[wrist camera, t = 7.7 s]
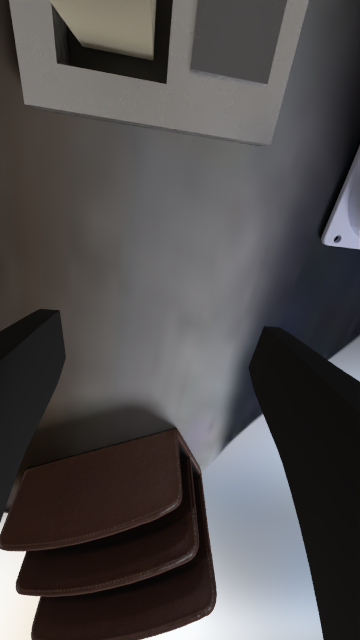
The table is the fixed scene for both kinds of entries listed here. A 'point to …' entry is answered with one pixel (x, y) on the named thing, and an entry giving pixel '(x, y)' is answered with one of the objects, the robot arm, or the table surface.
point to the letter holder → (114, 541)
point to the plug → (112, 24)
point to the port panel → (173, 69)
